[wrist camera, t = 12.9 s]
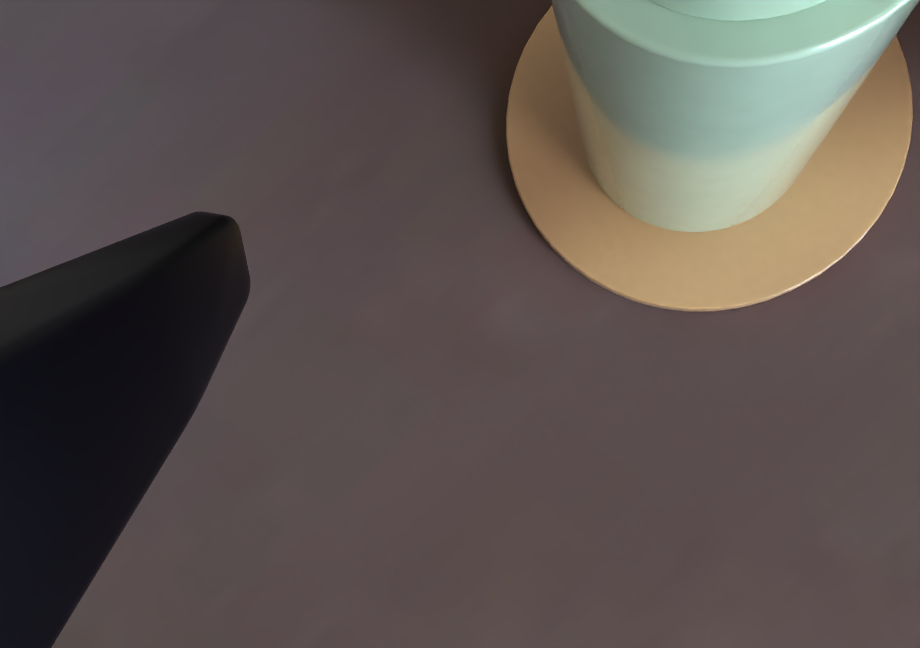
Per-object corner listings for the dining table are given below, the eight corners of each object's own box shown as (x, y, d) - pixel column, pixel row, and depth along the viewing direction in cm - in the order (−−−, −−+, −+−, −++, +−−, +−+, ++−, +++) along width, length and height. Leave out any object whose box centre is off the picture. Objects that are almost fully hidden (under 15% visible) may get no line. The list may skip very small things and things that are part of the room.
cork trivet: (996, 159, 18) (1005, 153, 18) (647, 387, 19) (647, 387, 19) (747, -135, 20) (749, -149, 19) (440, 89, 21) (435, 81, 21)
